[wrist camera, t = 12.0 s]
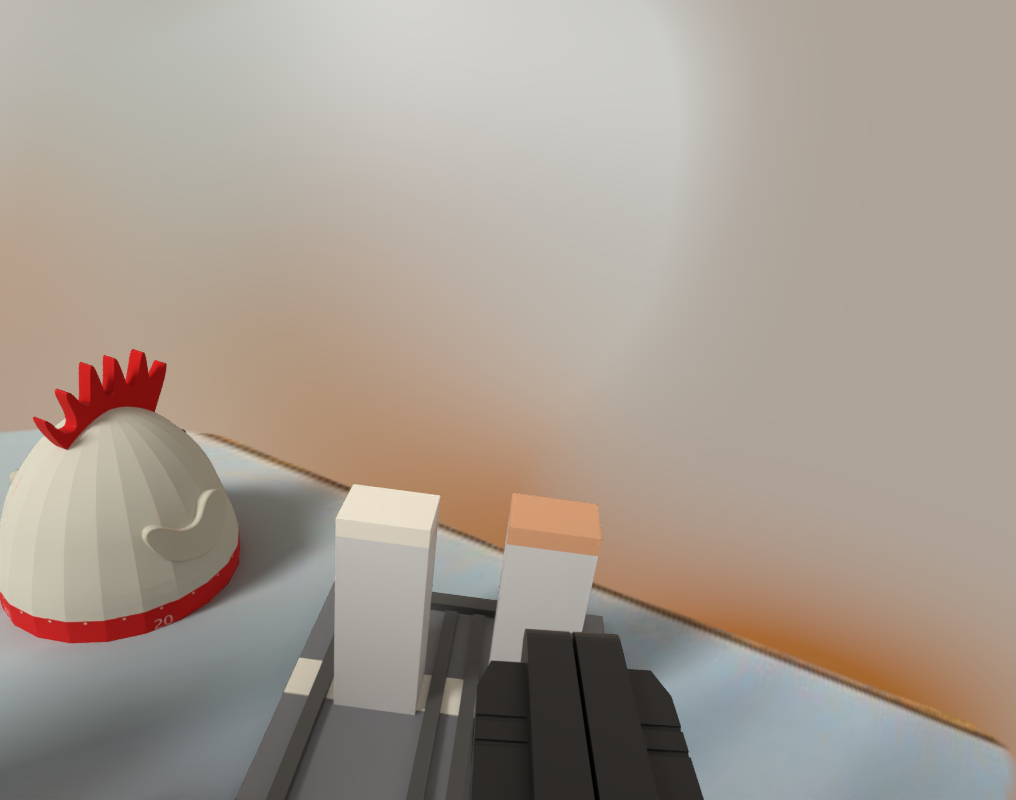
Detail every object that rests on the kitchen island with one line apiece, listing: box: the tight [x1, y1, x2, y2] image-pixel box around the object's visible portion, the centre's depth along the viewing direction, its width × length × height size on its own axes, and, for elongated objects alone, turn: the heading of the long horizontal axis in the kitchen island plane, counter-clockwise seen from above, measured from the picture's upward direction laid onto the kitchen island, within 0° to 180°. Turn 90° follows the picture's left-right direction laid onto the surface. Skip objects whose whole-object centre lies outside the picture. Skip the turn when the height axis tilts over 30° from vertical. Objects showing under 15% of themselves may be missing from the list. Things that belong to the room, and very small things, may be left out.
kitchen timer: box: [0, 349, 240, 643], centre depth 41 cm, size 14×14×15 cm
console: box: [235, 484, 604, 800], centre depth 30 cm, size 18×25×13 cm
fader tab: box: [488, 493, 602, 666], centre depth 35 cm, size 4×3×12 cm
